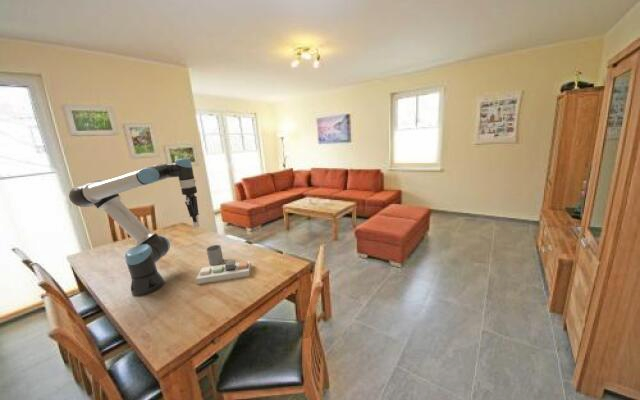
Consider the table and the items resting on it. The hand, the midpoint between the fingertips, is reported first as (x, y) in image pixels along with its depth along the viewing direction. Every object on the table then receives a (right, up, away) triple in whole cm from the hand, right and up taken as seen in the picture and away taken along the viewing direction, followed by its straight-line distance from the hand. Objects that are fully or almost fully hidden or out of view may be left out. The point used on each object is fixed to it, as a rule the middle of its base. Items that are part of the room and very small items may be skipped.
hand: (197, 226), depth 144 cm
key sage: (+13, -27, 0) cm, 30 cm away
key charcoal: (+20, -25, +1) cm, 32 cm away
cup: (+4, -25, +17) cm, 30 cm away
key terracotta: (+27, -26, +2) cm, 37 cm away
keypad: (+16, -28, +1) cm, 33 cm away
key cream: (+6, -28, -1) cm, 29 cm away
